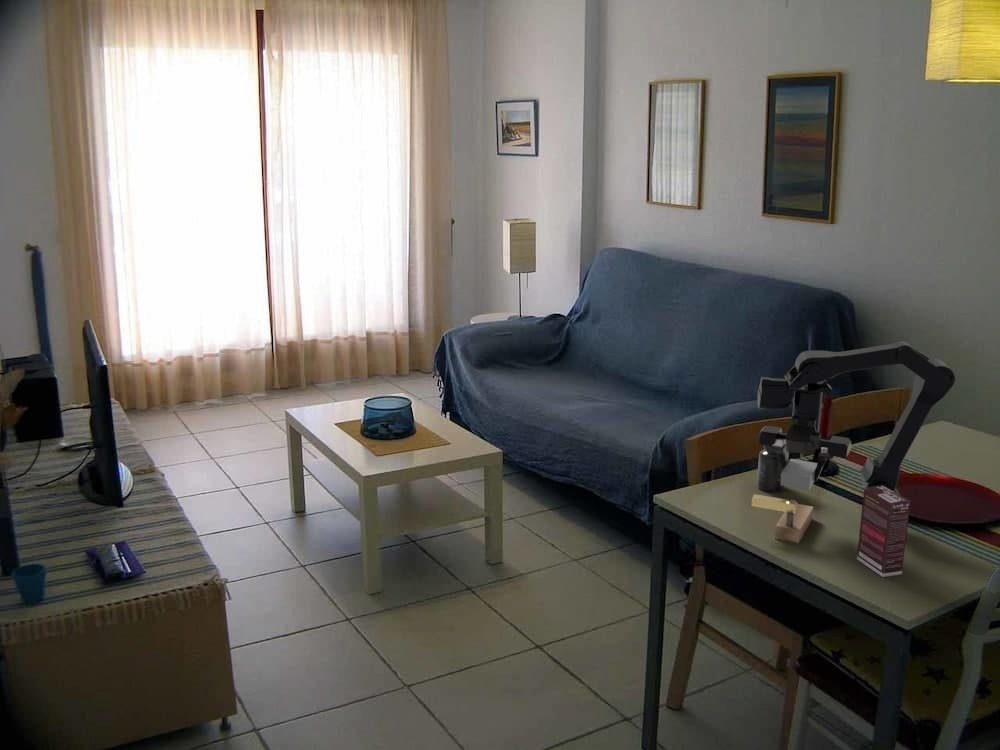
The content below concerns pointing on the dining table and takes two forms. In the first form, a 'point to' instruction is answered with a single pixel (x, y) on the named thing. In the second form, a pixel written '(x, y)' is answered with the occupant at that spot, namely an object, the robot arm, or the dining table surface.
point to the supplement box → (883, 530)
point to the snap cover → (798, 474)
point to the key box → (794, 524)
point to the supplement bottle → (769, 471)
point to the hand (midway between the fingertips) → (800, 478)
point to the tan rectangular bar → (774, 503)
